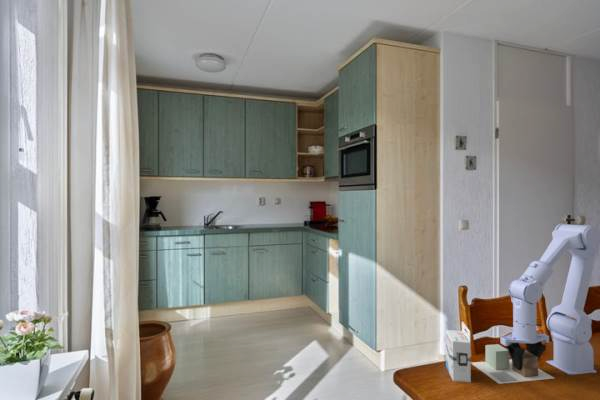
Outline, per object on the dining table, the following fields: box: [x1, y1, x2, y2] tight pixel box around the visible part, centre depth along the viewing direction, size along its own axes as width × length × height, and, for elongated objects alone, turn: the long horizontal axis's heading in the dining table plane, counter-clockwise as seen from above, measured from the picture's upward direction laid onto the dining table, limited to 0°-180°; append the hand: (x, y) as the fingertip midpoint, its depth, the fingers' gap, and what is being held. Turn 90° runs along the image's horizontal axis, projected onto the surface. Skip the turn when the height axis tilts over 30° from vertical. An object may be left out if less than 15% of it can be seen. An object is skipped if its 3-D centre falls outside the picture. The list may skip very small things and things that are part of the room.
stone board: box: [471, 358, 555, 385], centre depth 99 cm, size 18×12×1 cm, turn 99°
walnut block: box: [512, 349, 539, 377], centre depth 97 cm, size 4×4×6 cm
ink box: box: [445, 321, 472, 383], centre depth 97 cm, size 9×5×15 cm, turn 168°
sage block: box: [484, 343, 510, 370], centre depth 101 cm, size 4×4×6 cm
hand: (524, 367), depth 97 cm, fingers closed on walnut block, 4 cm apart
